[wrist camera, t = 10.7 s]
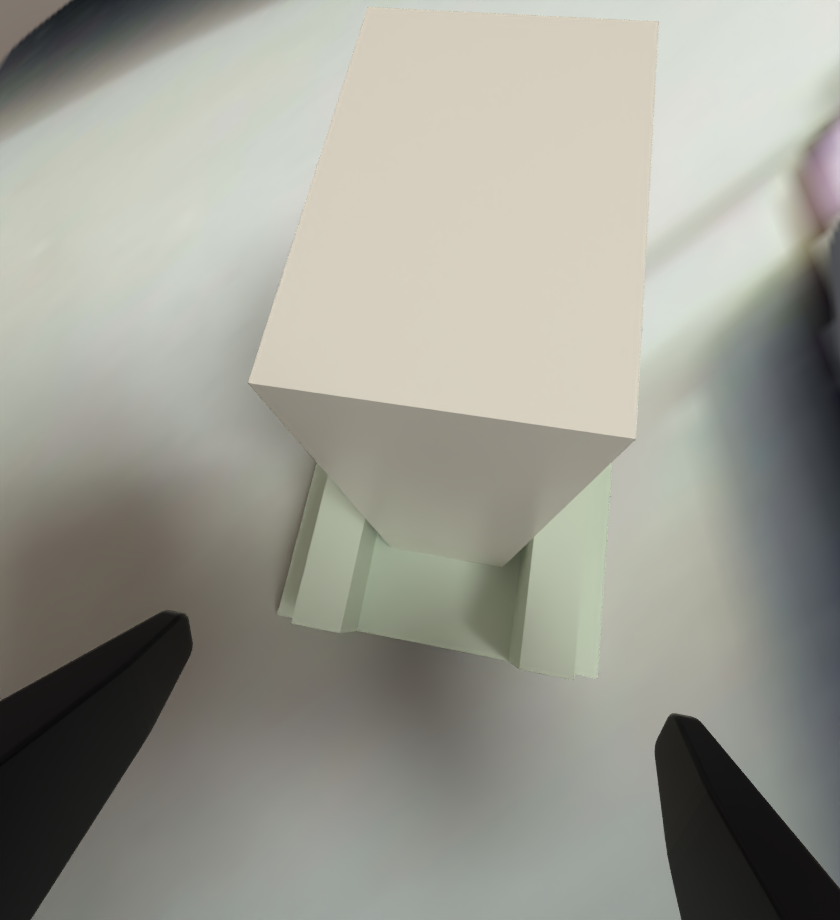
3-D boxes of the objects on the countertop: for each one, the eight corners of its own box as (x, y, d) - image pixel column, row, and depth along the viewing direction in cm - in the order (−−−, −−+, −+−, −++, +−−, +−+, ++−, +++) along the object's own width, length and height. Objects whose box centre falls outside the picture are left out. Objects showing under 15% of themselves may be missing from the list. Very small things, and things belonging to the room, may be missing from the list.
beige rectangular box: (502, 567, 17) (636, 439, 5) (391, 547, 18) (248, 382, 5) (522, 412, 19) (658, 22, 6) (421, 398, 19) (368, 6, 7)
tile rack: (590, 675, 17) (625, 691, 13) (284, 615, 18) (246, 614, 14) (613, 365, 20) (645, 315, 17) (356, 332, 21) (338, 280, 18)
